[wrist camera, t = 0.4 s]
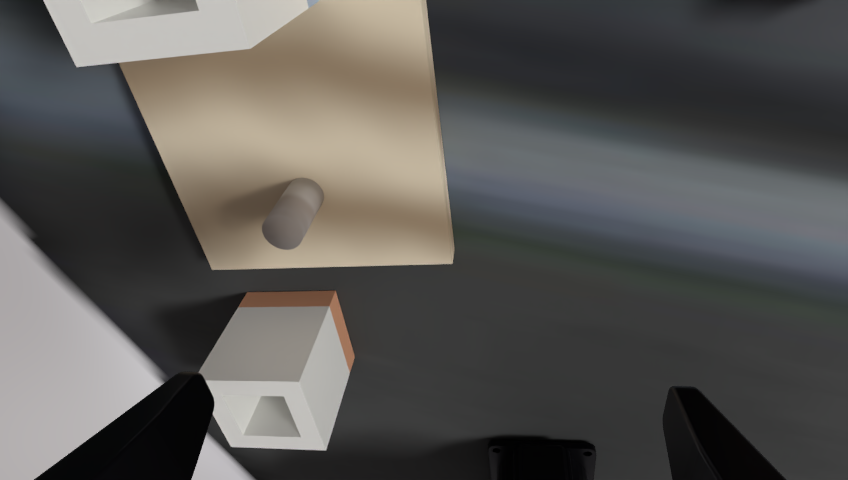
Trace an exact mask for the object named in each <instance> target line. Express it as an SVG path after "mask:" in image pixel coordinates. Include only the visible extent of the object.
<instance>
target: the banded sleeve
mask: <svg viewBox="0 0 848 480" xmlns="http://www.w3.org/2000/svg"><path fill="white" fill-rule="evenodd" d="M354 358H355V356H354V352H353V349H352V346H351V342H350V339H349V335H348V332H347V328H346V325H345V321H344V318H343V315H342V311H341V308H340V304H339V301H338V297H337V294H336V291H291V292H247V293H246V295H245V297H244V298H243V300H242V302H241V303H240V305H239V307H238V308H237V310H236V312H235V313H234V315H233V316H232V318H231V320H230V321H229V323H228V325H227V326H226V328H225V330H224V331H223V333H222V334H221V336H220V338H219V339H218V341H217V343H216V344H215V346H214V348H213V349H212V351H211V353H210V354H209V356H208V357H207V359H206V361H205V362H204V364H203V366H202V367H201V369H200V371H199V372H198V373H200V374H202V375H203V377H204V379H205V381H206V383H207V385H208V387H209V389H210V391H211V393H212V395H213V397H214V411H213V416H214V417H215V419H216V421H217V423H218V424H219V426H220V428H221V430H222V432H223V433H224V435H225V437H226V439H227V440H228V442H229V444H230V446H231V447H248V448H274V449H299V450H325V451H326V449H327V446H328V443H329V439H330V436H331V433H332V430H333V426H334V423H335V420H336V417H337V413H338V410H339V407H340V403H341V400H342V397H343V394H344V390H345V387H346V384H347V381H348V377H349V374H350V371H351V368H352V364H353V361H354Z"/></svg>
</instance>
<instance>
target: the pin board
mask: <svg viewBox="0 0 848 480" xmlns="http://www.w3.org/2000/svg"><path fill="white" fill-rule="evenodd" d="M119 65H120V67H121V69H122V71H123V74H124V76H125V78H126V80H127V82H128V85H129V87H130V89H131V91H132V94H133V96H134V98H135V100H136V102H137V105H138V107H139V109H140V111H141V113H142V116H143V118H144V120H145V122H146V124H147V127H148V129H149V131H150V133H151V136H152V138H153V140H154V142H155V144H156V147H157V149H158V151H159V153H160V155H161V158H162V160H163V162H164V164H165V167H166V169H167V171H168V173H169V175H170V178H171V180H172V182H173V184H174V186H175V189H176V191H177V193H178V195H179V198H180V200H181V202H182V204H183V206H184V209H185V211H186V213H187V215H188V217H189V220H190V222H191V224H192V226H193V228H194V231H195V233H196V235H197V237H198V240H199V242H200V244H201V246H202V248H203V251H204V253H205V255H206V257H207V259H208V262H209V264H210V266H211V268H212V270H229V269H269V268H308V267H347V266H386V265H425V264H453V256H454V249H455V248H454V239H453V231H452V222H451V213H450V205H449V196H448V187H447V179H446V170H445V161H444V153H443V144H442V135H441V127H440V118H439V109H438V101H437V92H436V83H435V75H434V66H433V57H432V49H431V40H430V31H429V22H428V14H427V5H426V0H319V2H317V3H316V4H314V5H313V6H311V7H310V8H308V9H307V10H306V11H304V12H303V13H301V14H300V15H298V16H297V17H295V18H294V19H293V20H291V21H290V22H288V23H287V24H285V25H284V26H283V27H281V28H280V29H278V30H277V31H275V32H274V33H272V34H271V35H270V36H268V37H267V38H265V39H264V40H262V41H261V42H260V43H258V44H257V45H255V46H254V47H252V48H251V49H244V50H235V51H225V52H216V53H206V54H197V55H187V56H178V57H168V58H159V59H149V60H140V61H130V62H120V63H119Z"/></svg>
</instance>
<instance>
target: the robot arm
mask: <svg viewBox="0 0 848 480" xmlns="http://www.w3.org/2000/svg"><path fill="white" fill-rule="evenodd" d="M213 411H214V397H213V395H212V393H211V391H210V389H209V387H208V385H207V383H206V381H205V379H204V377H203V375H202V374H200V373H198V372H180V373H178V374H176V375H175V376H174V377H172V378H171V379H169V380H168V381H167V382H165V383H164V384H163V385H161V386H160V387H159V388H157V389H156V390H155V391H153V392H152V393H151V394H149V395H148V396H147V397H145V398H144V399H142V400H141V401H140V402H139V403H137V404H136V405H134V406H133V407H132V408H130V409H129V410H128V411H126V412H125V413H124V414H122V415H121V416H120V417H118V418H117V419H115V420H114V421H113V422H111V423H110V424H109V425H107V426H106V427H105V428H103V429H102V430H101V431H99V432H98V433H97V434H95V435H94V436H93V437H91V438H90V439H88V440H87V441H86V442H84V443H83V444H82V445H80V446H79V447H78V448H76V449H75V450H74V451H72V452H71V453H70V454H68V455H67V456H65V457H64V458H63V459H61V460H60V461H59V462H57V463H56V464H55V465H53V466H52V467H51V468H49V469H48V470H46V471H45V472H44V473H42V474H41V475H40V476H38V477H37V478H36V479H34V480H191V478H192V476H193V473H194V470H195V467H196V464H197V460H198V457H199V454H200V451H201V448H202V445H203V442H204V439H205V436H206V433H207V430H208V427H209V423H210V420H211V417H212V414H213ZM663 430H664V435H665V441H666V446H667V452H668V457H669V463H670V468H671V474H672V479H673V480H786V479H785V478H784V477H783V476H782V475H781V474H780V473H779V472H778V471H777V470H776V469H775V468H774V467H773V466H772V464H771V463H770V462H769V461H768V460H767V459H766V458H765V457H764V456H763V455H762V454H761V453H760V452H759V451H758V450H757V449H756V448H755V447H754V446H753V445H752V444H751V443H750V442H749V441H748V440H747V439H746V438H745V437H744V436H743V435H742V434H741V433H740V432H739V430H738V429H737V428H736V427H735V426H734V425H733V424H732V423H731V422H730V421H729V420H728V419H727V418H726V417H725V416H724V415H723V414H722V413H721V412H720V411H719V410H718V409H717V408H716V407H715V406H714V405H713V404H712V403H711V402H710V401H709V400H708V399H707V398H706V397H705V395H704V394H703V393H702V392H701V391H700V390H698V389H697V388H695V387H691V386H672V387H671V388H670V389H669V392H668V396H667V400H666V404H665V409H664V413H663ZM488 452H489V462H490V473H491V480H594V471H595V461H596V450H595V446H594V445H593V444H590V443H569V442H539V441H509V440H493V441H490V442H489V444H488Z"/></svg>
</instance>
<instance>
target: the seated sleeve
mask: <svg viewBox="0 0 848 480" xmlns="http://www.w3.org/2000/svg"><path fill="white" fill-rule="evenodd" d="M43 1H44V3H45V5H46V7H47V9H48V11H49V13H50V15H51V17H52V19H53V21H54V23H55V25H56V27H57V29H58V31H59V33H60V35H61V37H62V39H63V41H64V43H65V45H66V47H67V49H68V51H69V53H70V55H71V57H72V59H73V61H74V63H75V65H76V67H82V66H92V65H101V64H111V63H120V62H130V61H140V60H149V59H159V58H168V57H178V56H187V55H197V54H206V53H216V52H225V51H235V50H244V49H251V48H252V47H254V46H255V45H257V44H258V43H260V42H261V41H262V40H264V39H265V38H267V37H268V36H270V35H271V34H272V33H274V32H275V31H277V30H278V29H280V28H281V27H283V26H284V25H285V24H287V23H288V22H290V21H291V20H293V19H294V18H295V17H297V16H298V15H300V14H301V13H303V12H304V11H306V10H307V9H308V8H310V7H311V6H313V5H314V4H316V3H317V2H319V0H43Z"/></svg>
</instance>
